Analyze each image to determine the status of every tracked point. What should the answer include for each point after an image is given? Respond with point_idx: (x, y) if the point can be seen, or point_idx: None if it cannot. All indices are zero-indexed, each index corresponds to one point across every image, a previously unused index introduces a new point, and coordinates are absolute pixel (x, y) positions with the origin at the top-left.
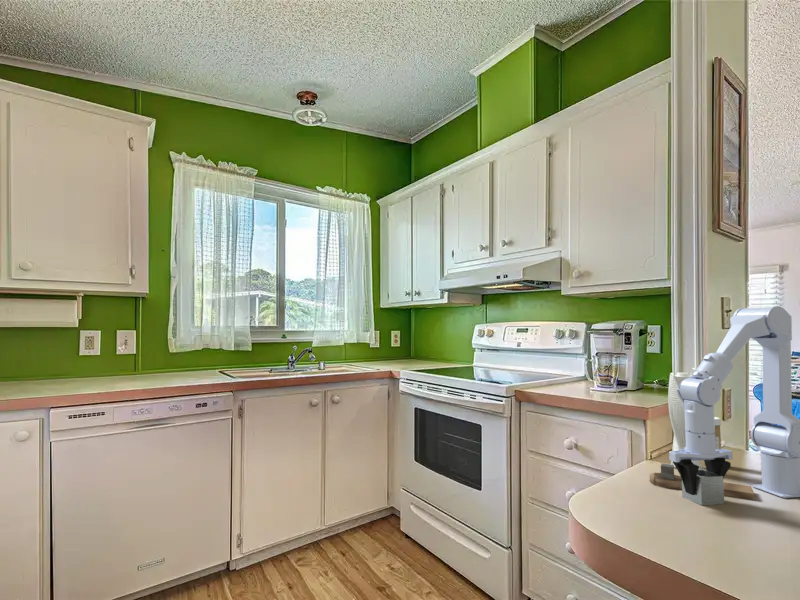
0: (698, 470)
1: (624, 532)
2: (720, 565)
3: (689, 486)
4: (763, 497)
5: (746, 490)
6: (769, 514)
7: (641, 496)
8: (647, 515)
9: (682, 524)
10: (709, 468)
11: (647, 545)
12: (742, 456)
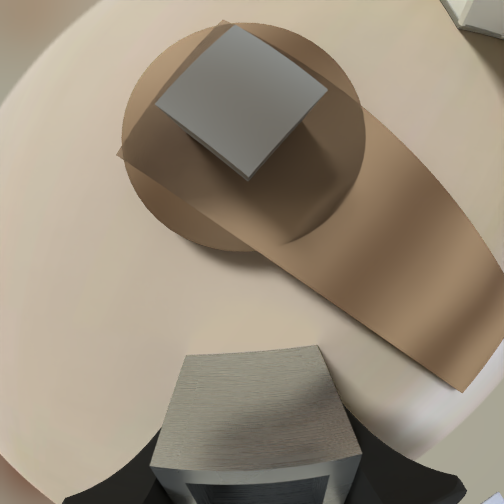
0: (292, 478)
1: (7, 448)
2: None
3: None
4: None
5: (475, 362)
6: None
7: (25, 321)
8: (32, 430)
9: (92, 478)
10: (362, 494)
11: (35, 479)
12: None
